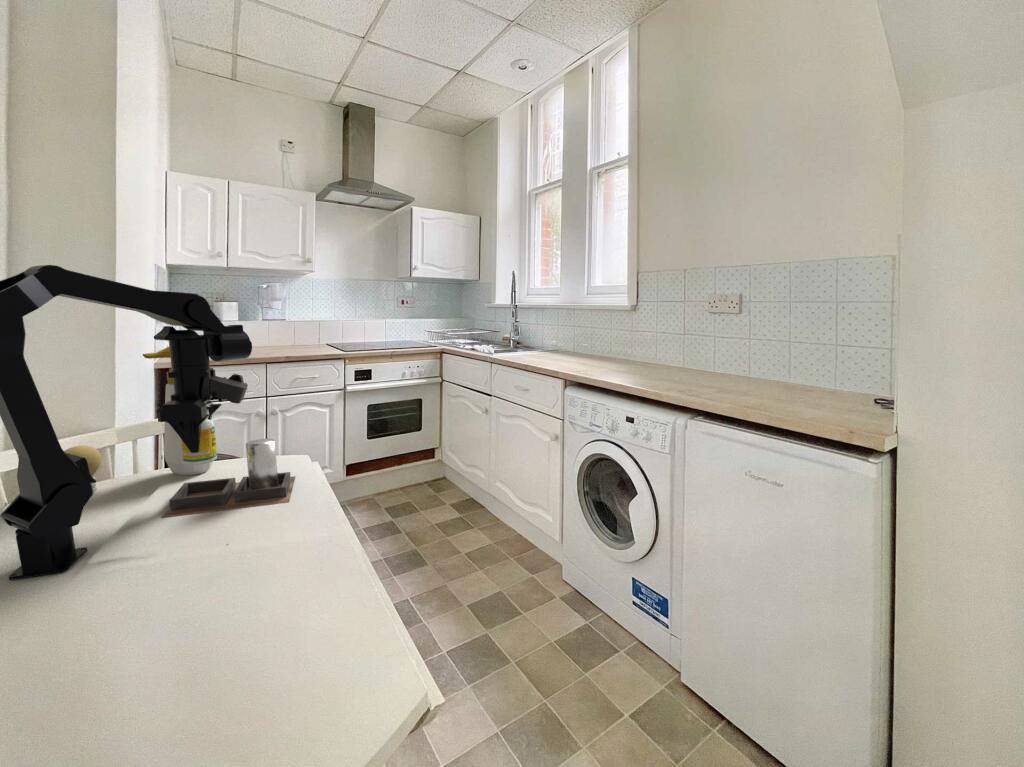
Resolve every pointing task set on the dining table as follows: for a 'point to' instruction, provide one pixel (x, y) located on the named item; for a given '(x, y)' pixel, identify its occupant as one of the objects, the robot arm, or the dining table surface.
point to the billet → (262, 463)
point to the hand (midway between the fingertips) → (199, 448)
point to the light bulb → (88, 459)
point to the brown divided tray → (227, 495)
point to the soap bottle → (170, 436)
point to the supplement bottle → (202, 446)
